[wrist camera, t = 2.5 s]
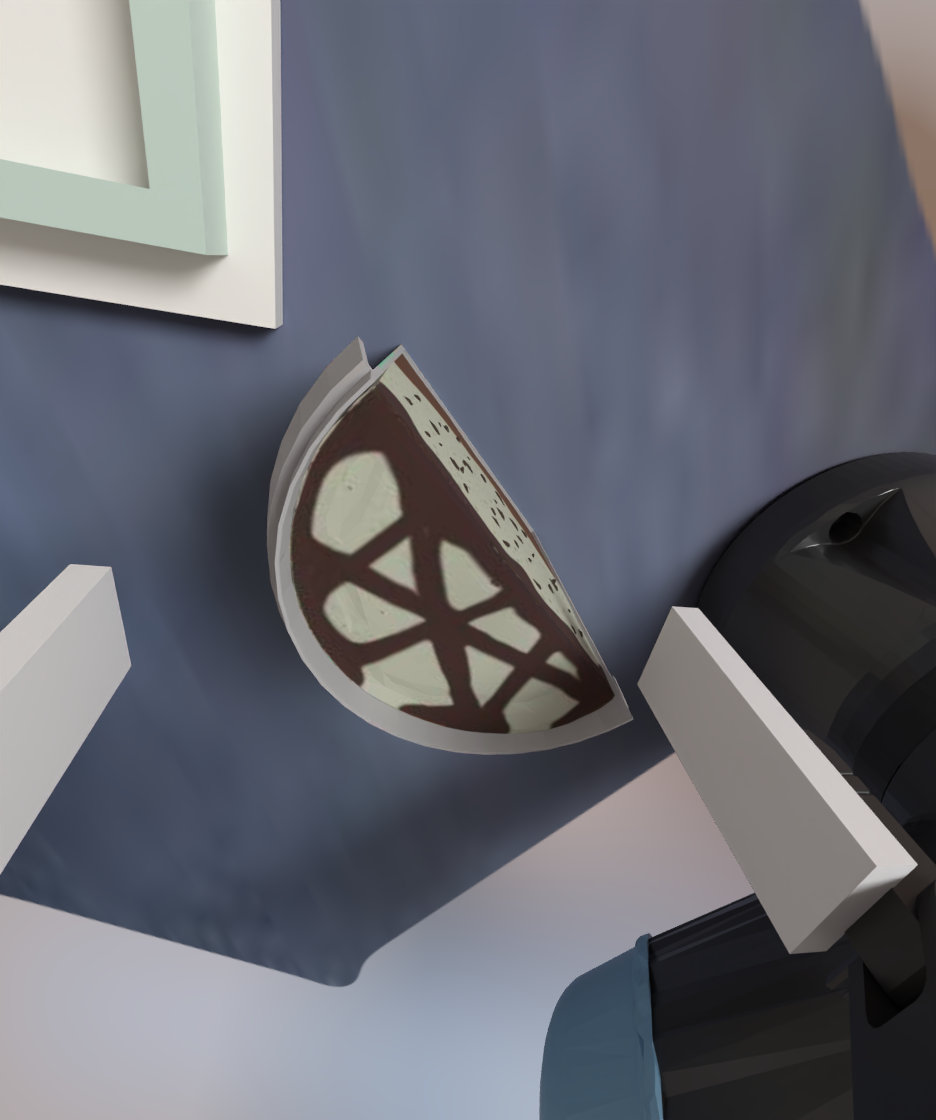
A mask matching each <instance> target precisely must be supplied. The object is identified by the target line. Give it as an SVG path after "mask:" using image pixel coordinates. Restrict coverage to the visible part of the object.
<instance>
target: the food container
mask: <svg viewBox="0 0 936 1120" xmlns="http://www.w3.org/2000/svg"><path fill="white" fill-rule="evenodd" d="M267 551H268V561H269V572H270V582H271V586H272V589H273V592H274V596H275V599H276V603H277V606H278V610H279V613H280V616H281V618H282V620H283V622H284V624H285V626H286V628H287V631H288V633H289V635H290V637H291V639H292V641H293V643H294V645H295V647H296V649H297V650H298V652H299V654H300V656H301V658H302V660H303V661H304V663H305V664H306V665H307V667H308V668H309V669H310V671H311V672H312V673H313V675H314V676H315V677H316V679H317V680H318V681H319V682H320V684H321V685H322V686H323V687H324V688H325V689H326V690H327V691H328V692H329V693H330V694H332V695H333V696H334V697H335V698H336V699H337V700H338V701H339V702H340V703H341V704H342V705H343V706H344V707H346V708H347V709H349V710H350V711H352V712H353V713H355V714H356V715H358V716H359V717H361V718H362V719H364V720H365V721H366V722H368V723H369V724H371V725H374V726H376V727H378V728H380V729H382V730H384V731H386V732H388V733H390V734H392V735H394V736H396V737H399V738H402V739H405V740H408V741H411V742H414V743H417V744H420V745H423V746H426V747H431V748H436V749H441V750H446V751H451V752H456V753H469V754H481V755H500V754H521V753H528V752H535V751H543V750H549V749H553V748H557V747H561V746H565V745H570V744H574V743H578V742H581V741H583V740H586V739H589V738H592V737H594V736H597V735H600V734H603V733H606V732H608V731H610V730H612V729H615V728H617V727H619V726H621V725H623V724H625V723H627V722H630V721H632V720H634V719H633V717H632V715H631V713H630V711H629V709H628V705H627V702H626V700H625V698H624V696H623V694H622V692H621V690H620V688H619V686H618V683H617V681H616V679H615V678H614V676H611V675H610V673H609V671H608V669H607V667H606V665H605V663H604V662H603V660H602V658H601V656H600V654H599V652H598V650H597V648H596V647H595V645H594V643H593V641H592V639H591V637H590V635H589V633H588V631H587V630H586V628H585V626H584V624H583V622H582V620H581V618H580V616H579V614H578V613H577V611H576V609H575V607H574V605H573V603H572V601H571V599H570V598H569V596H568V594H567V592H566V590H565V588H564V586H563V584H562V582H561V581H560V579H559V577H558V575H557V573H556V571H555V569H554V567H553V565H552V564H551V562H550V560H549V558H548V556H547V554H546V552H545V550H544V549H543V547H542V545H541V543H540V541H539V539H538V537H537V535H536V533H535V532H534V530H533V529H532V527H531V526H530V525H529V523H528V522H527V520H526V519H525V518H524V516H523V515H522V513H521V512H520V511H519V509H518V508H517V506H516V505H515V503H514V502H513V501H512V499H511V498H510V496H509V495H508V494H507V492H506V491H505V489H504V488H503V487H502V485H501V484H500V482H499V481H498V480H497V478H496V477H495V475H494V474H493V473H492V471H491V470H490V468H489V467H488V466H487V464H486V463H485V461H484V460H483V459H482V457H481V456H480V454H479V453H478V451H477V450H476V449H475V447H474V446H473V444H472V443H471V442H470V440H469V439H468V437H467V436H466V435H465V433H464V432H463V430H462V429H461V428H460V426H459V425H458V423H457V422H456V421H455V419H454V418H453V416H452V415H451V414H450V412H449V411H448V409H447V408H446V407H445V405H444V404H443V402H442V401H441V400H440V398H439V397H438V395H437V394H436V392H435V391H434V390H433V388H432V387H431V385H430V384H429V383H428V381H427V380H426V378H425V377H424V376H423V374H422V373H421V371H420V370H419V369H418V367H417V366H416V364H415V363H414V362H413V360H412V359H411V357H410V356H409V355H408V353H407V352H406V350H405V349H404V348H403V346H402V345H400V346H399V347H398V348H396V349H395V350H394V351H393V352H392V353H391V354H390V355H389V356H388V357H387V358H385V359H384V360H383V361H382V362H381V363H380V364H379V365H378V366H377V367H376V368H375V369H373V370H372V368H371V367H370V366H369V364H368V360H367V356H366V353H365V349H364V345H363V342H362V341H361V340H360V338H359V337H358V336H357V337H356V338H355V339H354V340H353V341H352V342H351V343H350V344H349V345H348V346H347V347H346V348H345V349H344V350H343V351H342V352H341V353H340V354H339V355H338V356H337V357H336V358H335V359H334V360H333V361H332V362H331V363H330V364H329V365H328V366H327V367H326V368H325V370H324V371H323V372H322V374H321V375H320V377H319V378H318V379H317V381H316V382H315V383H314V385H313V386H312V388H311V389H310V390H309V392H308V393H307V394H306V396H305V397H304V399H303V400H302V401H301V403H300V404H299V406H298V408H297V410H296V413H295V415H294V417H293V419H292V421H291V423H290V425H289V427H288V429H287V431H286V433H285V435H284V437H283V439H282V441H281V445H280V448H279V452H278V455H277V459H276V463H275V466H274V470H273V473H272V477H271V481H270V492H269V503H268V515H267Z"/></svg>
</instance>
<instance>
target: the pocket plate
mask: <svg viewBox="0 0 936 1120" xmlns="http://www.w3.org/2000/svg"><path fill="white" fill-rule="evenodd" d="M0 285H6V286H12V287H19V288H25V289H31V290H37V291H43V292H50V293H56V294H62V295H68V296H74V297H81V298H87V299H93V300H99V301H105V302H112V303H118V304H124V305H130V306H136V307H143V308H149V309H155V310H161V311H167V312H174V313H180V314H186V315H192V316H198V317H205V318H211V319H217V320H223V321H229V322H236V323H242V324H248V325H254V326H261V327H267V328H273V329H276V328H278V327H280V326H281V325H283V292H282V153H281V14H280V0H0Z"/></svg>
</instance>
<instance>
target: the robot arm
mask: <svg viewBox="0 0 936 1120" xmlns="http://www.w3.org/2000/svg"><path fill="white" fill-rule="evenodd" d="M130 667H131V661H130V657H129V652H128V647H127V642H126V637H125V632H124V627H123V622H122V618H121V613H120V608H119V603H118V598H117V593H116V588H115V583H114V578H113V574H112V569H111V567H104V566H89V565H75V564H70V565H69V566H68V567H67V568H66V569H65V570H64V571H63V572H62V573H61V574H60V575H59V576H58V577H56V578H55V579H54V580H53V581H52V582H51V583H50V584H49V585H48V586H47V587H46V588H45V589H44V590H43V591H42V592H41V593H40V594H39V595H38V596H37V597H36V598H35V599H34V600H33V601H32V602H31V603H30V604H29V605H28V606H27V607H26V608H25V609H24V610H23V611H22V612H21V613H20V614H19V615H18V616H17V617H15V618H14V619H13V620H12V621H11V622H10V623H9V624H8V625H7V626H6V627H5V628H4V629H3V630H2V631H1V632H0V874H1V873H2V871H3V869H4V868H5V866H6V865H7V863H8V861H9V860H10V858H11V857H12V855H13V854H14V852H15V850H16V849H17V847H18V846H19V844H20V842H21V841H22V839H23V838H24V836H25V834H26V833H27V831H28V830H29V828H30V826H31V825H32V823H33V822H34V820H35V818H36V817H37V815H38V814H39V812H40V810H41V809H42V807H43V806H44V804H45V803H46V801H47V799H48V798H49V796H50V795H51V793H52V791H53V790H54V788H55V787H56V785H57V783H58V782H59V780H60V779H61V777H62V775H63V774H64V772H65V771H66V769H67V767H68V766H69V764H70V763H71V761H72V759H73V758H74V756H75V755H76V753H77V751H78V750H79V748H80V747H81V745H82V744H83V742H84V740H85V739H86V737H87V736H88V734H89V732H90V731H91V729H92V728H93V726H94V724H95V723H96V721H97V720H98V718H99V716H100V715H101V713H102V712H103V710H104V708H105V707H106V705H107V704H108V702H109V700H110V699H111V697H112V696H113V694H114V693H115V691H116V689H117V688H118V686H119V685H120V683H121V681H122V680H123V678H124V677H125V675H126V673H127V672H128V670H129V669H130ZM637 685H638V687H639V688H640V690H641V692H642V694H643V695H644V697H645V699H646V701H647V703H648V704H649V706H650V708H651V710H652V711H653V713H654V715H655V717H656V718H657V720H658V722H659V724H660V726H661V727H662V729H663V731H664V733H665V734H666V736H667V738H668V740H669V741H670V743H671V745H672V747H673V749H674V750H675V752H676V754H677V756H678V757H679V759H680V761H681V763H682V764H683V766H684V768H685V770H686V771H687V773H688V775H689V777H690V778H691V780H692V782H693V784H694V785H695V787H696V789H697V791H698V793H699V795H700V796H701V798H702V800H703V802H704V803H705V805H706V807H707V809H708V810H709V812H710V814H711V816H712V818H713V819H714V821H715V823H716V825H717V826H718V828H719V830H720V832H721V833H722V835H723V837H724V839H725V841H726V842H727V844H728V846H729V847H730V849H731V851H732V853H733V855H734V856H735V858H736V860H737V862H738V863H739V865H740V867H741V869H742V871H743V872H744V874H745V876H746V878H747V879H748V881H749V883H750V885H751V887H752V888H753V890H754V892H755V893H753V894H750V895H749V896H746V897H744V898H741V899H739V900H737V901H734V902H732V903H730V904H728V905H725V906H723V907H721V908H718V909H716V910H714V911H711V912H709V913H707V914H704V915H702V916H700V917H698V918H695V919H693V920H691V921H688V922H686V923H684V924H682V925H679V926H677V927H675V928H673V929H670V930H668V931H666V932H663V933H661V934H659V935H656V936H654V937H652V936H651V935H650V934H645V935H643V936H640V937H639V938H638V939H637V941H636V944H635V947H634V948H632V949H630V950H628V951H626V952H625V953H622V954H621V955H619V956H617V957H615V958H613V959H611V960H609V961H608V962H605V963H604V964H602V965H600V966H598V967H596V968H594V969H592V970H590V971H588V972H586V973H585V974H583V975H581V976H579V977H578V978H576V979H575V980H574V981H573V982H572V983H571V984H570V985H569V986H568V987H567V988H566V989H565V991H564V992H563V994H562V995H561V997H560V999H559V1001H558V1002H557V1005H556V1007H555V1009H554V1012H553V1015H552V1018H551V1022H550V1025H549V1028H548V1032H547V1036H546V1041H545V1046H544V1054H543V1063H542V1071H541V1072H542V1073H541V1082H540V1120H936V456H935V455H930V454H925V453H913V452H901V453H889V454H882V455H876V456H871V457H867V458H863V459H860V460H856V461H853V462H850V463H847V464H844V465H841V466H839V467H836V468H834V469H831V470H829V471H827V472H825V473H822V474H820V475H818V476H816V477H814V478H812V479H811V480H809V481H807V482H805V483H803V484H802V485H800V486H798V487H797V488H795V489H793V490H792V491H790V492H789V493H787V494H786V495H784V496H783V497H782V498H780V499H779V500H777V501H776V502H775V503H773V504H772V505H771V506H770V507H768V508H767V509H766V510H765V511H764V512H762V513H761V514H760V515H759V516H758V517H757V518H756V519H754V520H753V521H752V522H751V523H750V524H749V525H748V526H747V527H746V528H745V529H744V530H743V531H742V532H741V533H740V534H739V536H738V537H737V538H736V539H735V540H734V541H733V543H732V544H731V545H730V546H729V548H728V549H727V550H726V551H725V553H724V554H723V555H722V557H721V558H720V560H719V561H718V563H717V564H716V566H715V568H714V569H713V571H712V573H711V574H710V576H709V578H708V580H707V582H706V584H705V586H704V589H703V591H702V593H701V596H700V599H699V602H698V605H697V608H688V607H674V606H672V608H671V610H670V612H669V615H668V617H667V619H666V621H665V624H664V626H663V628H662V630H661V632H660V635H659V637H658V639H657V641H656V644H655V646H654V648H653V650H652V653H651V655H650V657H649V659H648V661H647V664H646V666H645V668H644V670H643V673H642V675H641V677H640V679H639V682H638V684H637Z"/></svg>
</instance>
